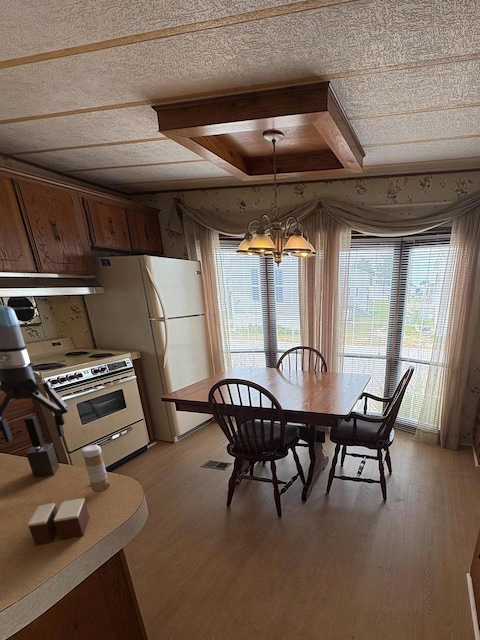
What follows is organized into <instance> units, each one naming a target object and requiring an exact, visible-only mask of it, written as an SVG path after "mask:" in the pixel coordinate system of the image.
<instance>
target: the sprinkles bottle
mask: <svg viewBox="0 0 480 640" xmlns="http://www.w3.org/2000/svg"><path fill="white" fill-rule="evenodd" d="M81 454H82V457H83V458H84V463H85V467H86V471H87V476H88V479H89V481H90V485H91V490H92V491H93V492H103V491H106V490H108V489H109V487H110V483H109V480H108V474H107V470H106V466H105V462H104V459H103V455H102V449H101V446H100V445H97V444H92V445H87V446H84V447H82V448H81Z"/></svg>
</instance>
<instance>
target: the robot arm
mask: <svg viewBox="0 0 480 640" xmlns="http://www.w3.org/2000/svg"><path fill="white" fill-rule="evenodd" d="M26 347H27V346H26V343H25V340H24V337H23V333H22V329H21V326H20V321H19V320H18V317H17V315H16V312H15V310H14V308H12V307H11V306H7V305H0V395H2V394H6V395H5V396H4V399H3V400H2V402H1V404H0V432H2V435H3V438H4V442H5V443H10V442H11V441H12V440H14V438H13V435H12V432H11V429H10V426H9V424H8V420H7V418H6V417H3V416H4V414H5V412H6V411H7V409H8V408H9V406H10V405H11V403H12V401H13V400H15V401H17V400H18V401H19V400H21V399H22V400H23V399H24V400H29V399H32V400H34V401H36V402H37V403H39V404H40V405H41V406H43V407H45V408H46V409H47V410H49V411H50V412H51V413H53V414H54V415H53V420H54V423H55V427H56V431H57V434H58V438H60V437H63V436H64V435H65V430H64V427H63V426H64V425H65V424H66V420H65V416H64V414H67V413H68V412H69V410H70V407H69V405H67V404H66V403H65V401H64V400H63V399H62V398H61V396H60V395H59V394H58V393H57V392H56V390H55V389H54V388H53V386H52V383H51V381H50V380H46V381H45V382H38V381H37V380H36V377H35V374H34V370H33V367H32V365H30V364H31V360H30V357H29V353H28V350H27V348H26ZM39 388H40V389H41V390H43V391H45V392H44V393H46V395H47V396H48V397H49V398H50V399H51V400H50V399H48V398H47V397H45V396H44V395H43V394H42V393H41V392H40V391H38V390H39ZM52 401H53V402H54V403H55V404H54V403H53V402H52Z"/></svg>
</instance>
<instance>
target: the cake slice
mask: <svg viewBox="0 0 480 640" xmlns="http://www.w3.org/2000/svg"><path fill="white" fill-rule="evenodd" d="M57 512H58V508H57V506H56V503H55V502H50V503H46V504H39V505H38V506H37V508H36V510H35V512H34V513H33V515H32V517H31V518H30V520H29V521H28V523H27V526H28V528H29V532H30V535H31V537H32V539H33V543H34V545H35V546H39V545H45V544H50V543H53V541H54V539H55V537H56V534H57V533H58V532H57V528H56V525H55V522H54V518H55V516H56V514H57Z"/></svg>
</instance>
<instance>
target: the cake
mask: <svg viewBox="0 0 480 640" xmlns="http://www.w3.org/2000/svg"><path fill="white" fill-rule="evenodd" d="M89 520H90V514H89V510H88V507H87V503H86V499H85V497H82V498H77V499H70V500H64V501H61V504H60V506H59V508H58V509H57V514H56V516H55V518H54V522H55V525H56V528H57V532H56V533H57V535H58V537H59V540H60V541H65V540H70V539H76V538H81V537H84V535H85V532H86V529H87V526H88V523H89Z"/></svg>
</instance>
